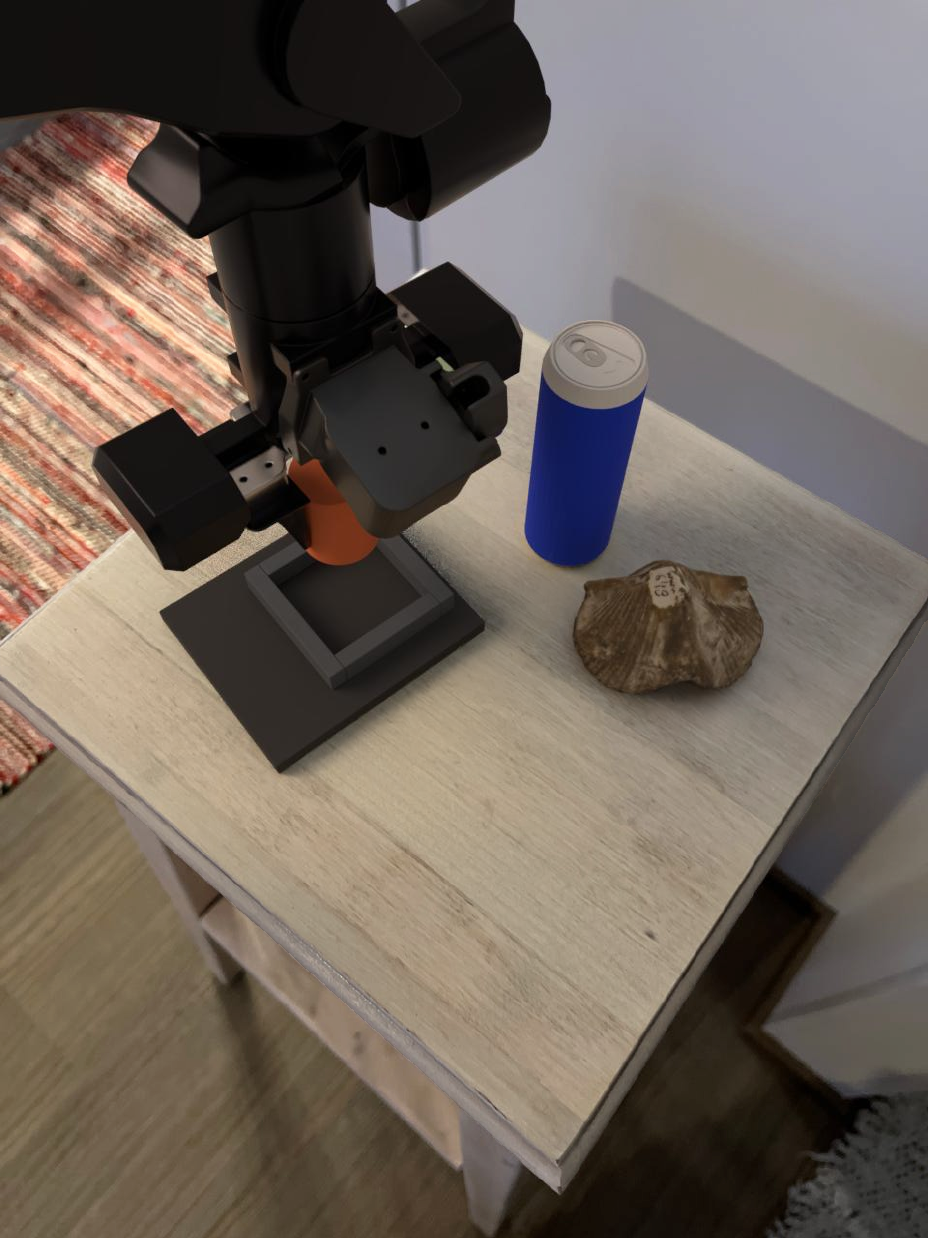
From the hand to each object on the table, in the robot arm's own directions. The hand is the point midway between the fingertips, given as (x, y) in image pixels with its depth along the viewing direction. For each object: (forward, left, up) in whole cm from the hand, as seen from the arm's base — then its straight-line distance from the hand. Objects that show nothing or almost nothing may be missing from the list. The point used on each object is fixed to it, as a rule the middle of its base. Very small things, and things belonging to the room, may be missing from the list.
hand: (338, 521), depth 50 cm
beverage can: (+13, -4, -9) cm, 16 cm away
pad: (+15, +11, -8) cm, 21 cm away
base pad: (-2, 0, -8) cm, 9 cm away
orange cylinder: (0, 0, -1) cm, 1 cm away
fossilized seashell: (+12, -13, -9) cm, 20 cm away
